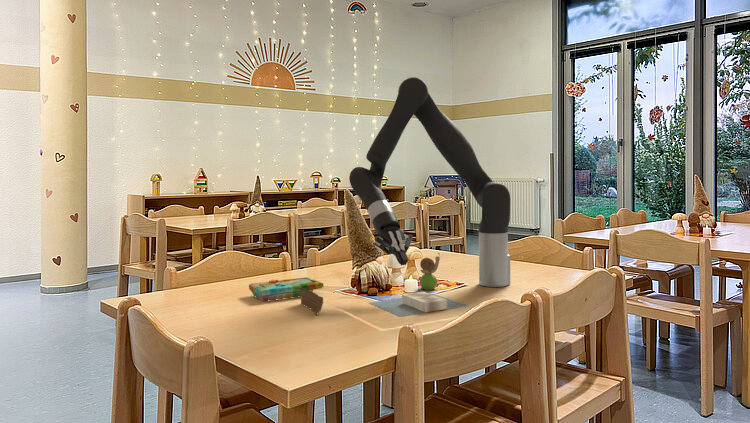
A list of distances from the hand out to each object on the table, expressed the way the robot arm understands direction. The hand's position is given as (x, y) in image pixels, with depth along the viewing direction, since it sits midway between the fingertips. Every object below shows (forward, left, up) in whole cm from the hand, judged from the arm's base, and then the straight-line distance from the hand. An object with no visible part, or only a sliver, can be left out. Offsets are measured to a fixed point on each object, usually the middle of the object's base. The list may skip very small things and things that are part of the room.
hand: (404, 263), depth 167 cm
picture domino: (0, +4, -9) cm, 10 cm away
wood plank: (+27, -6, -11) cm, 30 cm away
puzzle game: (+27, -27, -12) cm, 40 cm away
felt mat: (0, +7, -11) cm, 13 cm away
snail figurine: (-14, -8, -11) cm, 20 cm away
